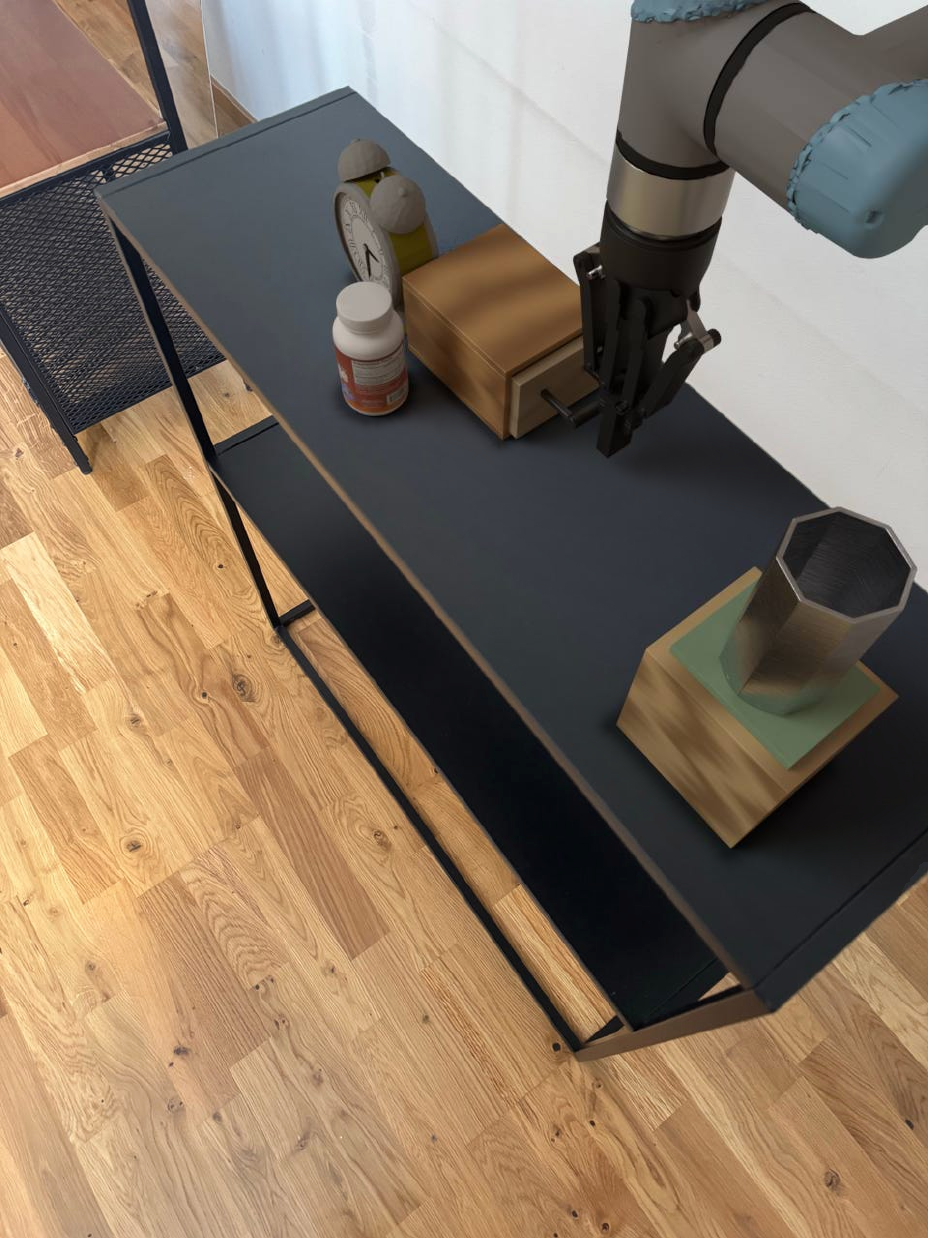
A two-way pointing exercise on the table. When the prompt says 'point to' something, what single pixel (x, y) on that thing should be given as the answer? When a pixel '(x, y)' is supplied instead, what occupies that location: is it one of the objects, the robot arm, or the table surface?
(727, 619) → the mat
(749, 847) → the table surface
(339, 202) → the alarm clock
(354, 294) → the pill bottle
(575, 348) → the drawer
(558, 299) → the cabinet
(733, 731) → the stand
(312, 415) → the table surface
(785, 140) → the robot arm
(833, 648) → the metal cup
